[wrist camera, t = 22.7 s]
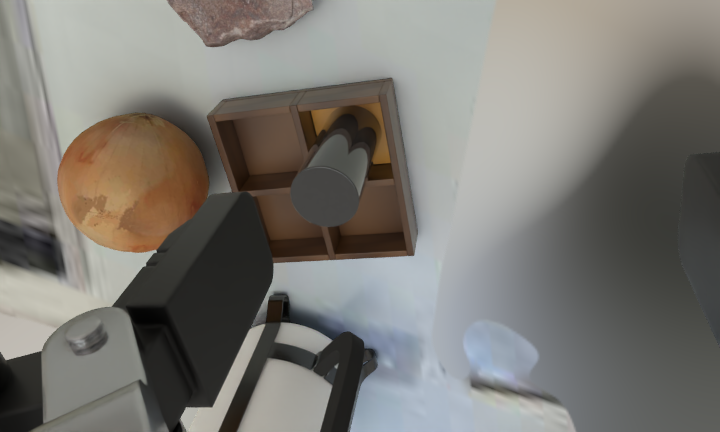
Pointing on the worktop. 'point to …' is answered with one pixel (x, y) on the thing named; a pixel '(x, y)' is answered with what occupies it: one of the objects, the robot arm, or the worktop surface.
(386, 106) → the brown compartment tray
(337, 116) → the dark grey cylinder
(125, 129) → the onion
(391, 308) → the worktop surface
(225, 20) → the stone
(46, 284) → the worktop surface
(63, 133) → the worktop surface
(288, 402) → the coffee press
